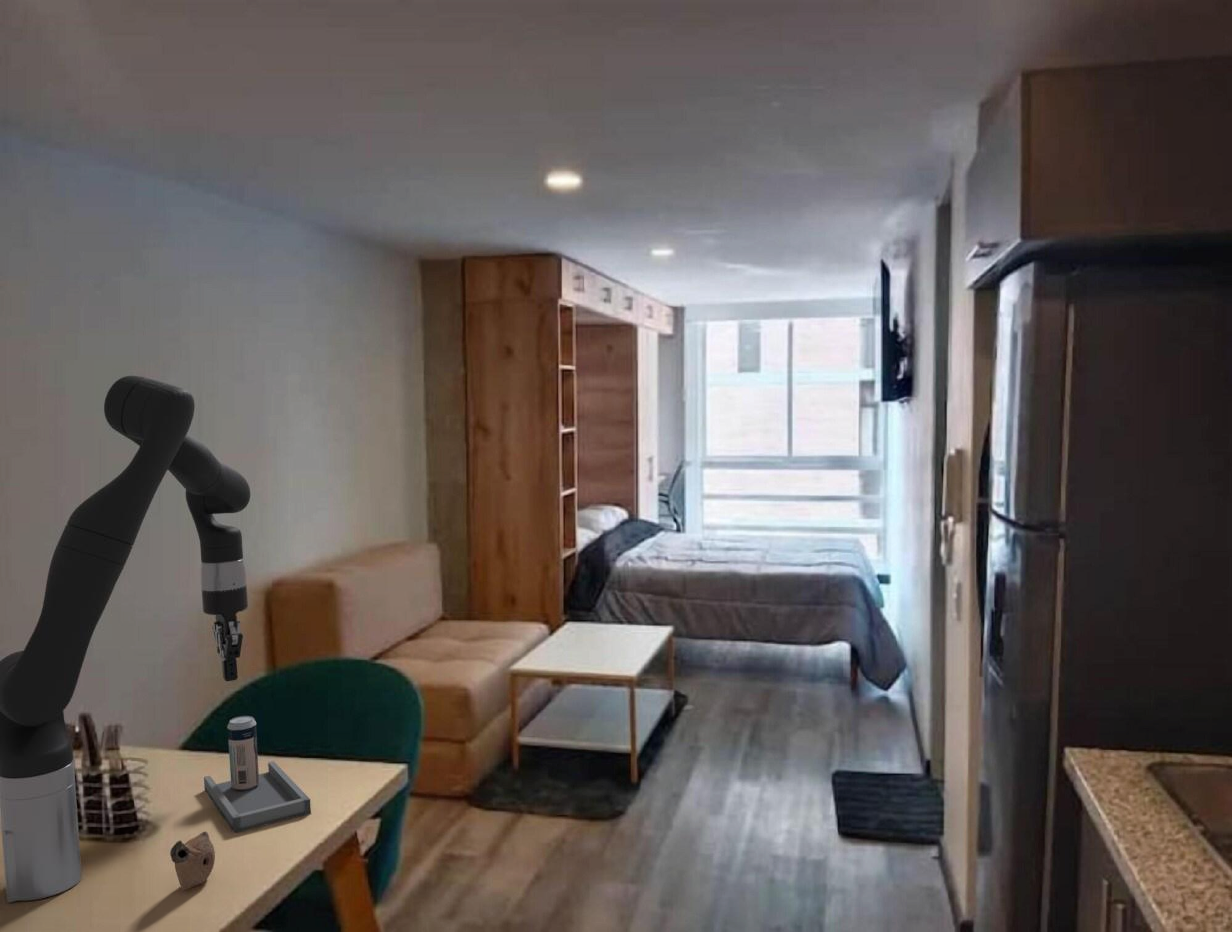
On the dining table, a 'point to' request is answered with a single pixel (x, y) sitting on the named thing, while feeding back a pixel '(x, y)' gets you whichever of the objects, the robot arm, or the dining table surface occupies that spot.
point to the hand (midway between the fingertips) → (230, 679)
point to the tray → (259, 800)
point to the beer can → (243, 753)
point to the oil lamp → (193, 860)
